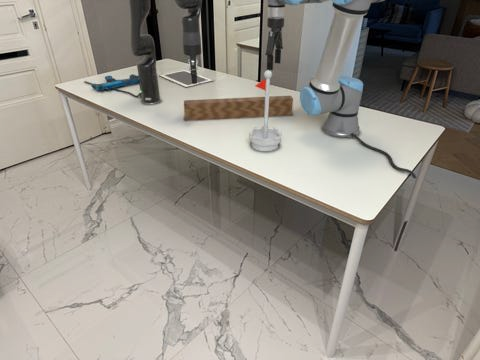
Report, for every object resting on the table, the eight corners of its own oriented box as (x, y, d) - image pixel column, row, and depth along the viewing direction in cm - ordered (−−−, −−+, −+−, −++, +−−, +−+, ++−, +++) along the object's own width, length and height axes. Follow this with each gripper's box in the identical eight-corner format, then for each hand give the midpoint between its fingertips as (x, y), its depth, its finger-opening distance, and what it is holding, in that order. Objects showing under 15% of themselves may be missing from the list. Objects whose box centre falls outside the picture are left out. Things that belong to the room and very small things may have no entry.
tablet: (159, 75, 221) (159, 75, 220) (185, 70, 232) (185, 69, 231) (186, 87, 200) (186, 86, 200) (213, 80, 211) (213, 80, 211)
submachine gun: (136, 68, 224) (154, 75, 207) (137, 74, 226) (155, 81, 209) (84, 79, 205) (99, 86, 189) (85, 85, 207) (100, 93, 190)
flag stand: (272, 135, 145) (276, 64, 129) (286, 149, 135) (292, 73, 119) (244, 140, 141) (244, 67, 125) (256, 154, 131) (258, 77, 115)
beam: (289, 111, 169) (290, 95, 164) (291, 115, 165) (293, 98, 160) (185, 117, 163) (183, 100, 159) (185, 120, 159) (183, 103, 155)
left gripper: (183, 39, 149) (186, 76, 158) (182, 46, 137) (185, 85, 146) (200, 38, 149) (202, 75, 158) (200, 46, 138) (203, 85, 147)
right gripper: (275, 14, 162) (273, 59, 173) (259, 20, 142) (258, 72, 153) (290, 14, 159) (287, 61, 171) (276, 21, 140) (274, 73, 151)
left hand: (194, 80), depth 152 cm, fingers open, 8 cm apart
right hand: (273, 66), depth 162 cm, fingers open, 13 cm apart
